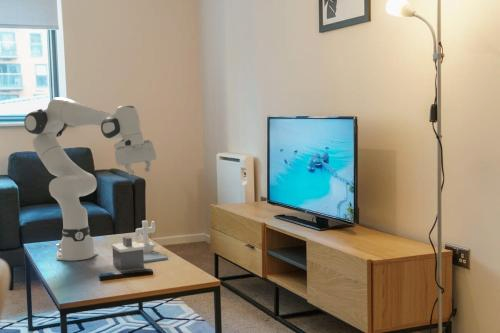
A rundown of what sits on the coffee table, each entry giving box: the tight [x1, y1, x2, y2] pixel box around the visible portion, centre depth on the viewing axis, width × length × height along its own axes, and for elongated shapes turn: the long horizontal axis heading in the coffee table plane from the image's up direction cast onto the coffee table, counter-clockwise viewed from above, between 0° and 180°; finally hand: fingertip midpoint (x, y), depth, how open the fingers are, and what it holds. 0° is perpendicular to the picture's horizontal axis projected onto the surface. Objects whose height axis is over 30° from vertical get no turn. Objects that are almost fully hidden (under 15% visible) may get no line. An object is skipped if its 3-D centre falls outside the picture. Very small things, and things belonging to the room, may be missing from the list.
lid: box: [111, 235, 144, 252], centre depth 289 cm, size 13×11×6 cm
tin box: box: [112, 248, 145, 272], centre depth 290 cm, size 12×10×8 cm
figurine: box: [135, 220, 156, 253], centre depth 317 cm, size 7×9×15 cm
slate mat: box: [143, 251, 169, 264], centre depth 304 cm, size 14×12×1 cm
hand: (139, 173), depth 288 cm, fingers open, 8 cm apart
